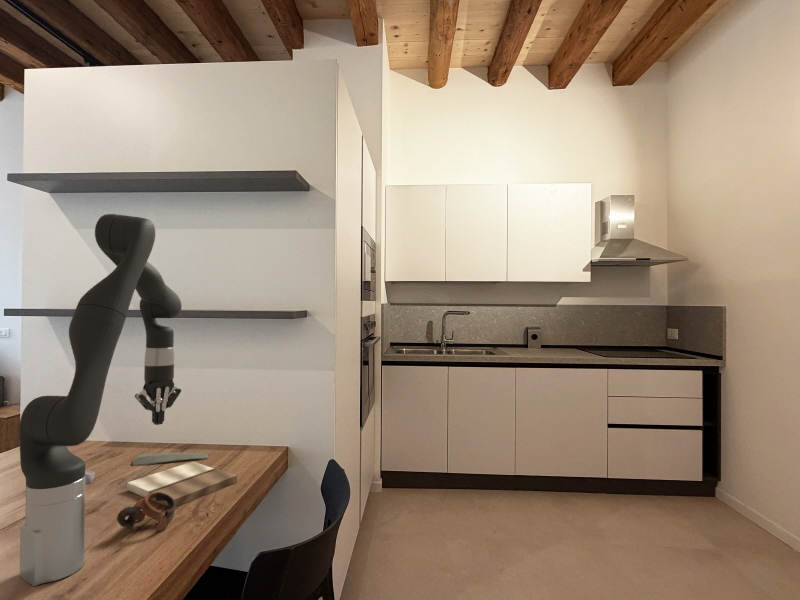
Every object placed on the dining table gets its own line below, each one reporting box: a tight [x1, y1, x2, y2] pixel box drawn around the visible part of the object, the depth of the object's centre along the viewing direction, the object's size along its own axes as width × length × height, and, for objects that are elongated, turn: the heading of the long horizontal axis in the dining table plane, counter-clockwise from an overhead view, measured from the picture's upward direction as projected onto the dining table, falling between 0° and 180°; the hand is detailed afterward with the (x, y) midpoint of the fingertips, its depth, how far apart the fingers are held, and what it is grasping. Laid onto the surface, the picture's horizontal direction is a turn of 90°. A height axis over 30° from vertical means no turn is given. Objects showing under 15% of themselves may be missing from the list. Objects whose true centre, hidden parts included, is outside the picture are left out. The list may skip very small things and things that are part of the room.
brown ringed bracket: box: [116, 492, 177, 532], centre depth 106 cm, size 12×10×8 cm
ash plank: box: [126, 461, 214, 498], centre depth 133 cm, size 20×10×2 cm, turn 149°
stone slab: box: [132, 452, 209, 467], centre depth 154 cm, size 22×3×10 cm
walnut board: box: [149, 467, 238, 509], centre depth 127 cm, size 20×10×2 cm, turn 149°
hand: (158, 424), depth 133 cm, fingers closed
